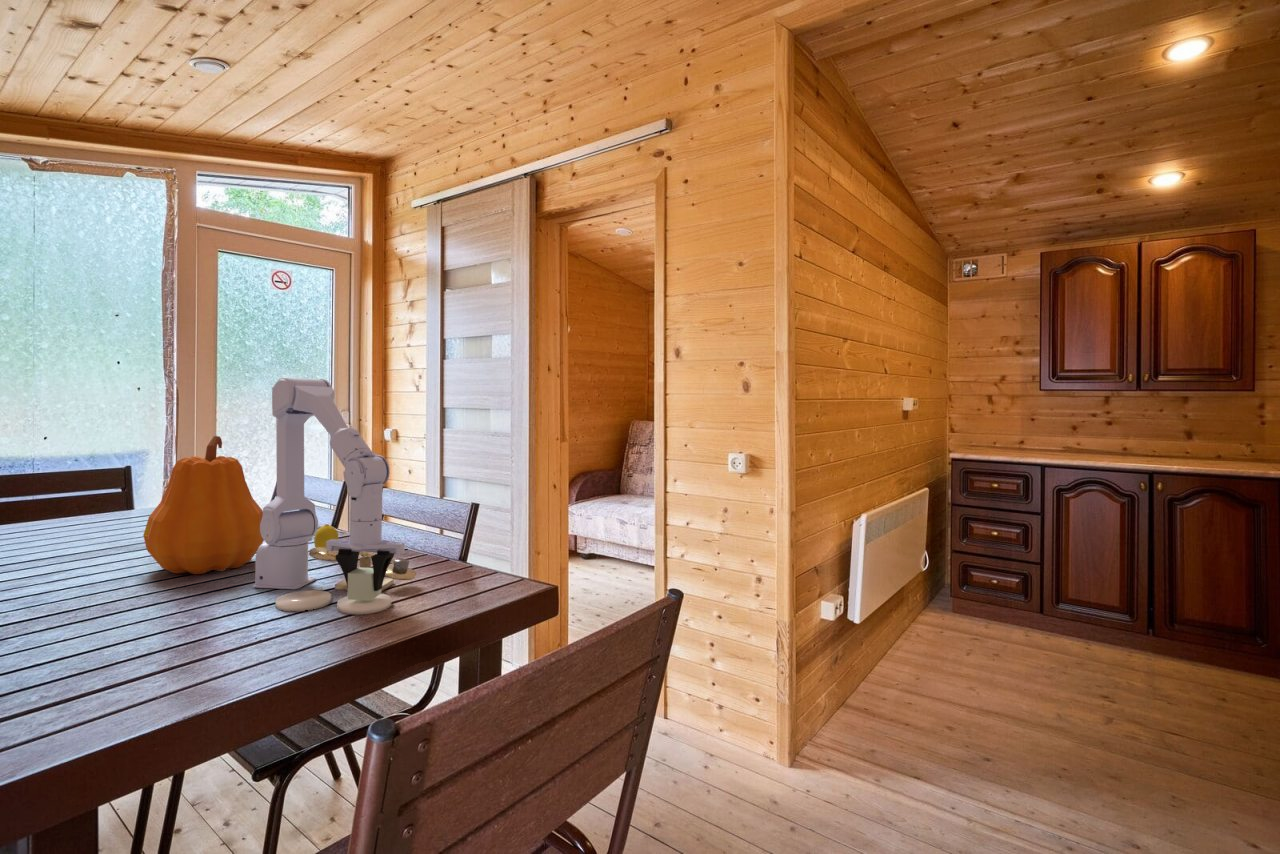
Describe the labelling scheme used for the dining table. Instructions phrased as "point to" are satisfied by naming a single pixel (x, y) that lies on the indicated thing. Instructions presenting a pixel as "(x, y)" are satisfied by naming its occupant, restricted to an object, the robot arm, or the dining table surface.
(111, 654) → the dining table surface
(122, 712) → the dining table surface
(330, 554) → the balance beam
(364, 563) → the balance stand
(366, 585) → the block
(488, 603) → the dining table surface
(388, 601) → the dish right
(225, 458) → the decorative pumpkin
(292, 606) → the dish left
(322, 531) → the lemon
